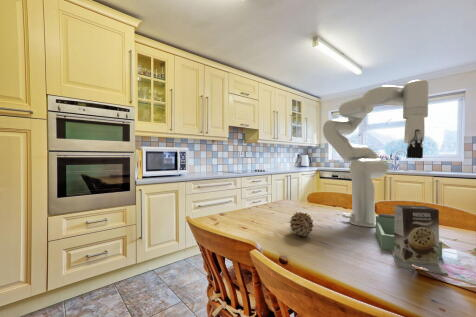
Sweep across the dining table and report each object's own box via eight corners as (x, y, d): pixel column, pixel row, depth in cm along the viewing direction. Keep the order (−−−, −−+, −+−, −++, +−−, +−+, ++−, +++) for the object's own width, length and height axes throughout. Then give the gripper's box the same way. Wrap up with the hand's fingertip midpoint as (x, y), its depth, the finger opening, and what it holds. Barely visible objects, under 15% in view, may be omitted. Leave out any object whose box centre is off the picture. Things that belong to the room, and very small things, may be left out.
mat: (397, 266, 64) (397, 264, 64) (391, 251, 75) (391, 249, 75) (448, 275, 59) (448, 273, 59) (433, 257, 70) (433, 256, 70)
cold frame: (381, 249, 77) (381, 225, 77) (375, 232, 95) (375, 213, 95) (442, 258, 70) (441, 231, 70) (423, 238, 88) (423, 217, 88)
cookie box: (404, 263, 65) (404, 208, 65) (393, 254, 71) (393, 204, 72) (440, 266, 63) (439, 209, 63) (426, 256, 70) (425, 205, 70)
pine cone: (318, 242, 83) (318, 216, 83) (292, 242, 84) (292, 215, 84) (305, 225, 105) (305, 204, 105) (284, 225, 106) (284, 204, 106)
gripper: (399, 117, 95) (399, 157, 95) (406, 110, 80) (406, 158, 80) (422, 116, 91) (421, 158, 92) (434, 108, 76) (433, 158, 77)
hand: (414, 158), depth 86 cm, fingers open, 9 cm apart
